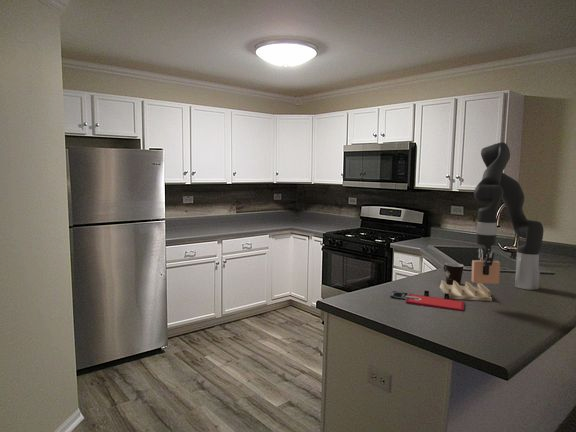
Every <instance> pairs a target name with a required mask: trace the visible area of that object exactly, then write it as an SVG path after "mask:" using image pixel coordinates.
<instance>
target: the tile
mask: <svg viewBox="0 0 576 432" xmlns="http://www.w3.org/2000/svg"><path fill="white" fill-rule="evenodd" d="M487 263H488V261H487ZM500 274H501V262H500V261H498V260H493V262H492V266H489V275H483V261H482V260H478V259H475V260H474V259H472V261H471V282H472V283H473V284H477V283H482V284H494V285H495V284H498V285H499V284H500V276H501V275H500Z"/></svg>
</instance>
